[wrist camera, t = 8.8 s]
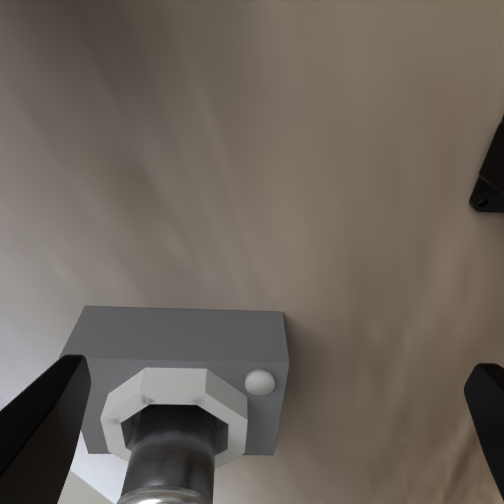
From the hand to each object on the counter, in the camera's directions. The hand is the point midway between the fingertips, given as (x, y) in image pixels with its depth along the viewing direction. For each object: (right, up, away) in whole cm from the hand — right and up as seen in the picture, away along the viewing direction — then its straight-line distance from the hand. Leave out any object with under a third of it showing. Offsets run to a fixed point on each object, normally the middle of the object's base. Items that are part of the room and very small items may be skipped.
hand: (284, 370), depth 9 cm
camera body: (-5, -4, +17) cm, 18 cm away
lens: (-5, -7, +14) cm, 16 cm away
